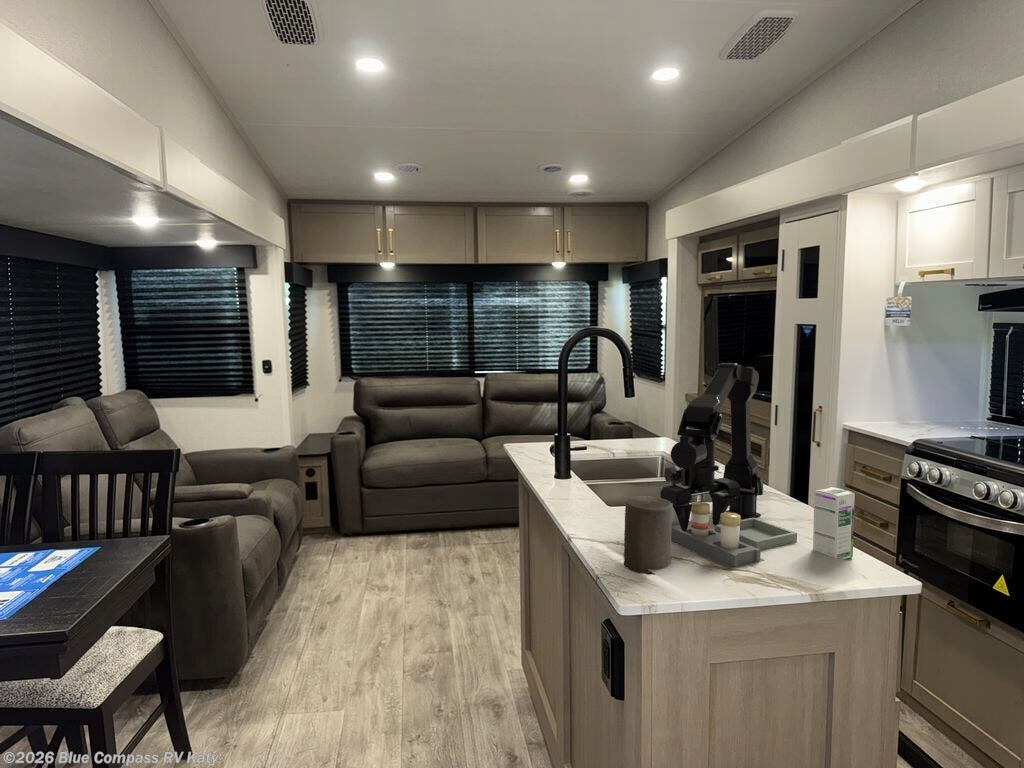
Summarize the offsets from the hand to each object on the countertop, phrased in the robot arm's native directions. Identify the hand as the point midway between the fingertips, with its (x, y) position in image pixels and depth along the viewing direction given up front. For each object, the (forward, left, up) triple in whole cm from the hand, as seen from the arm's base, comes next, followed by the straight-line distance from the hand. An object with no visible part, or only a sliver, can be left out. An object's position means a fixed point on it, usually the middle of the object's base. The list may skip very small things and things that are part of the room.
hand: (699, 527), depth 141 cm
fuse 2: (0, +9, -4) cm, 10 cm away
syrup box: (-22, +17, -5) cm, 28 cm away
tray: (-14, +3, -4) cm, 15 cm away
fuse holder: (0, 0, -4) cm, 4 cm away
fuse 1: (0, -9, -4) cm, 10 cm away
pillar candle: (+17, +3, -5) cm, 18 cm away
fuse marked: (0, 0, -4) cm, 4 cm away
